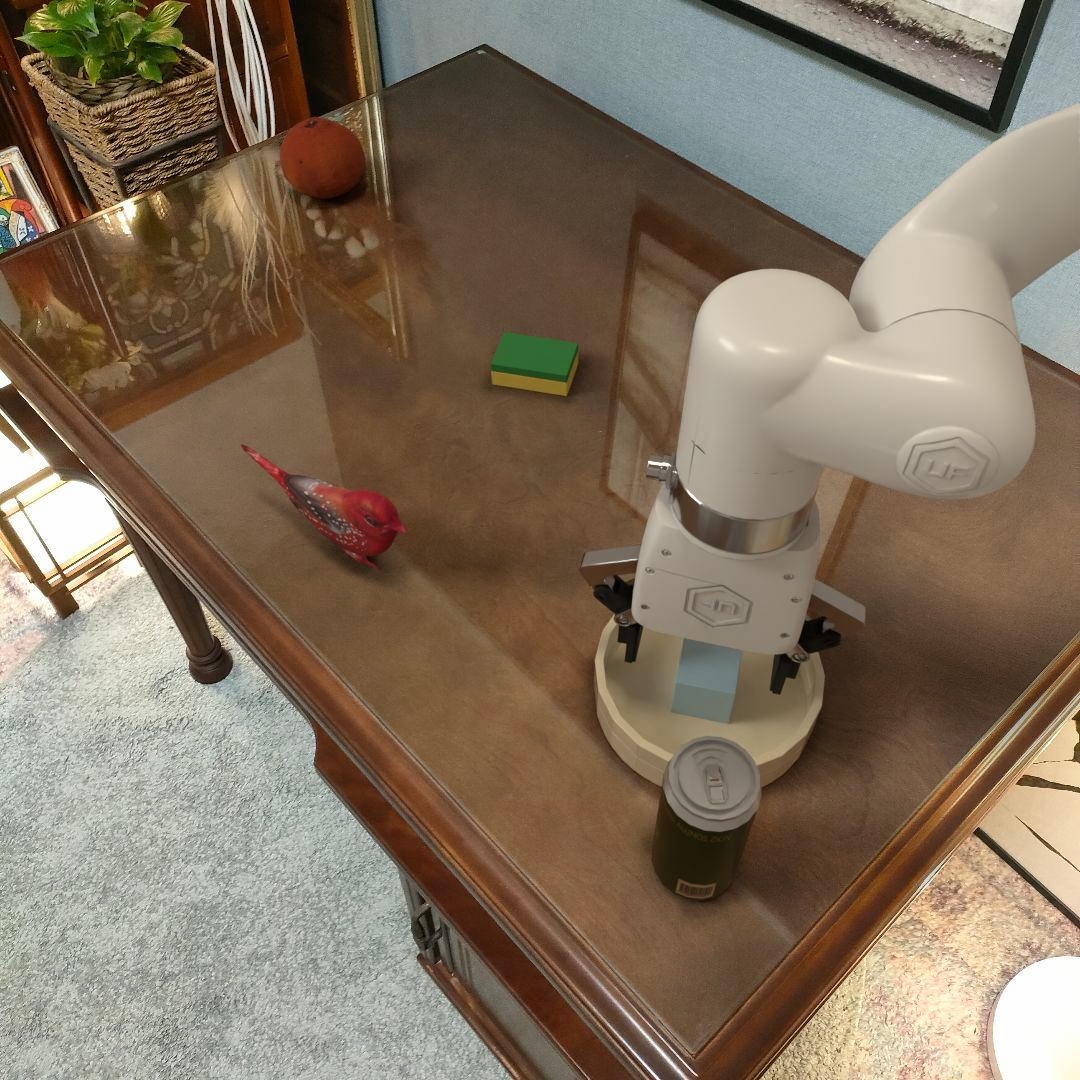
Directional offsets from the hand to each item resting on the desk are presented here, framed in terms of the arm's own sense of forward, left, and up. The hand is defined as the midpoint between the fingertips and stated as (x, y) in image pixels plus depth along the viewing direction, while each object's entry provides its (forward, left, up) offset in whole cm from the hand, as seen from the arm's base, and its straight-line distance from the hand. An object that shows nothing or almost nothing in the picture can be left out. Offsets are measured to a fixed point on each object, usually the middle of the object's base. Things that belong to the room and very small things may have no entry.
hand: (704, 660), depth 68 cm
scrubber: (+20, -30, -5) cm, 36 cm away
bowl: (0, 0, -5) cm, 5 cm away
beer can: (-2, +12, -5) cm, 13 cm away
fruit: (+50, -54, -5) cm, 74 cm away
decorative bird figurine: (+30, -7, -5) cm, 31 cm away
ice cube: (0, 0, -4) cm, 4 cm away
